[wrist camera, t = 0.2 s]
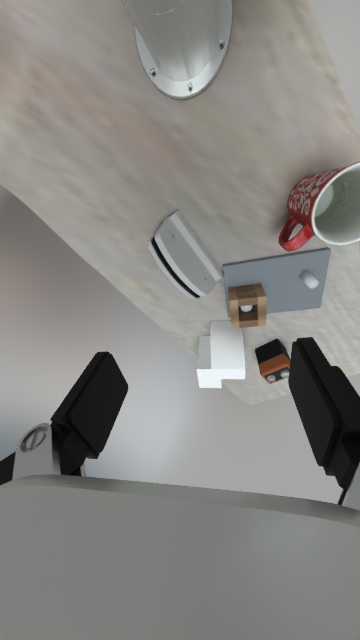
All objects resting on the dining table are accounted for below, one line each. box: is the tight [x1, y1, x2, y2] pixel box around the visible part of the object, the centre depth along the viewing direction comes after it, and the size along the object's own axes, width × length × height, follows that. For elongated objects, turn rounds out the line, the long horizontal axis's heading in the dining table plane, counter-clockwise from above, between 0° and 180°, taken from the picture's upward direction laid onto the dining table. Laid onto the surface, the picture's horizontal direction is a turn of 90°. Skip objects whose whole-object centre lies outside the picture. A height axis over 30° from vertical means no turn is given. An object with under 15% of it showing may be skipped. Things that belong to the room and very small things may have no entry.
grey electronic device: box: [148, 210, 224, 300], centre depth 41 cm, size 17×5×10 cm, turn 39°
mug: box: [279, 162, 360, 251], centre depth 31 cm, size 13×9×14 cm
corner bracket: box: [197, 321, 245, 388], centre depth 51 cm, size 11×11×12 cm
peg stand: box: [223, 248, 331, 317], centre depth 43 cm, size 13×20×6 cm, turn 102°
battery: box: [255, 339, 291, 384], centre depth 51 cm, size 4×7×10 cm, turn 133°
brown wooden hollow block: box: [228, 283, 267, 328], centre depth 44 cm, size 7×7×6 cm
